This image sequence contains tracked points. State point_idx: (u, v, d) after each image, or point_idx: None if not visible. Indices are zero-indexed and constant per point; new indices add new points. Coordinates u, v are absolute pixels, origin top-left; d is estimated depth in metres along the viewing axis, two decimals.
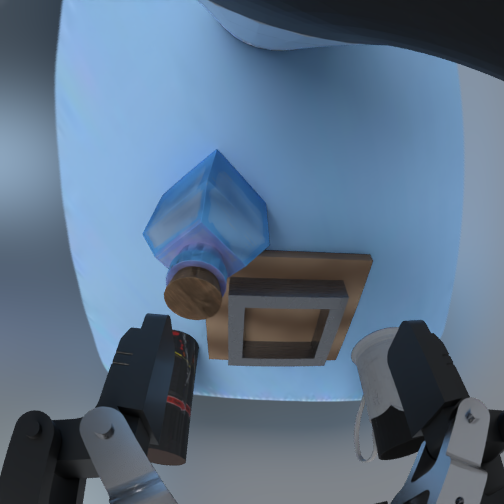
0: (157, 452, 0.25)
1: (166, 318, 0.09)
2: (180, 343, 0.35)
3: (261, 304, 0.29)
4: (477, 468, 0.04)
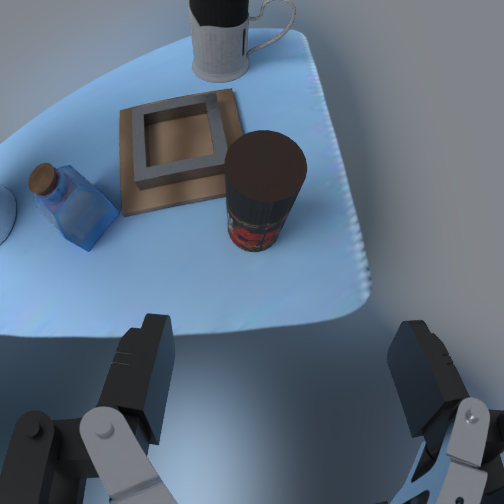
0: (240, 162, 0.22)
1: (166, 318, 0.09)
2: None
3: (141, 157, 0.34)
4: (477, 468, 0.04)
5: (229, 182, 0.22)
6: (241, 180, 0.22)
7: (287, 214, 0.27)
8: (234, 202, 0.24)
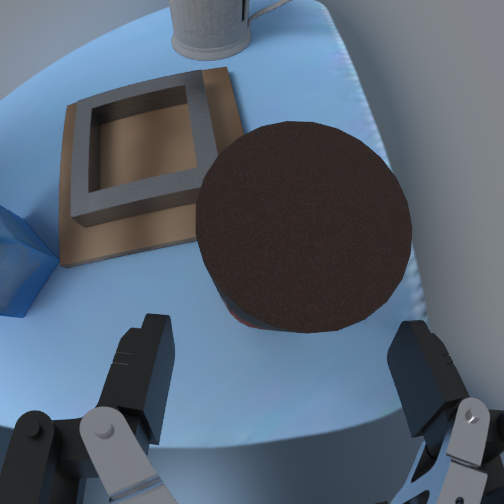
0: (240, 211, 0.08)
1: (166, 318, 0.09)
2: None
3: (83, 176, 0.20)
4: (477, 468, 0.04)
5: (210, 272, 0.08)
6: (243, 267, 0.08)
7: None
8: (227, 301, 0.10)
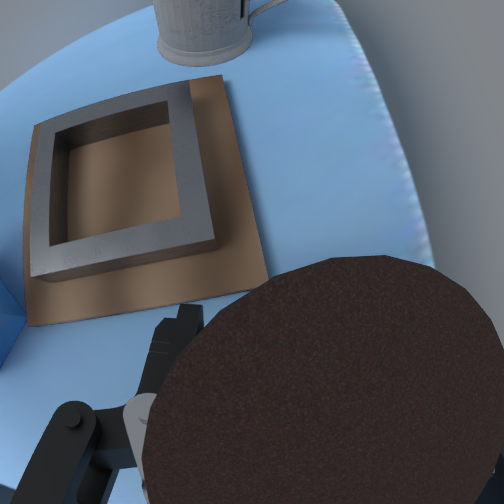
0: (229, 476, 0.03)
1: (200, 307, 0.10)
2: None
3: (43, 223, 0.16)
4: None
5: None
6: None
7: None
8: None
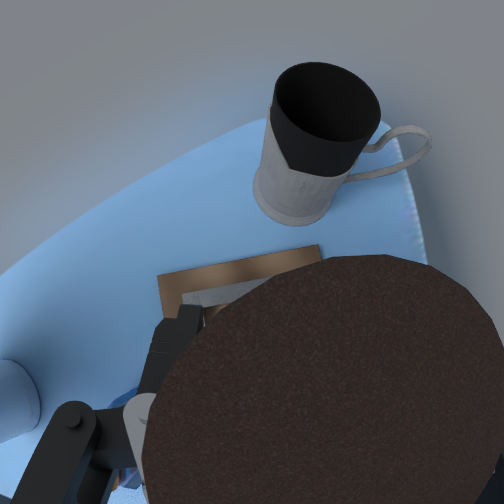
0: (229, 477, 0.03)
1: (200, 308, 0.10)
2: None
3: None
4: None
5: None
6: None
7: None
8: None
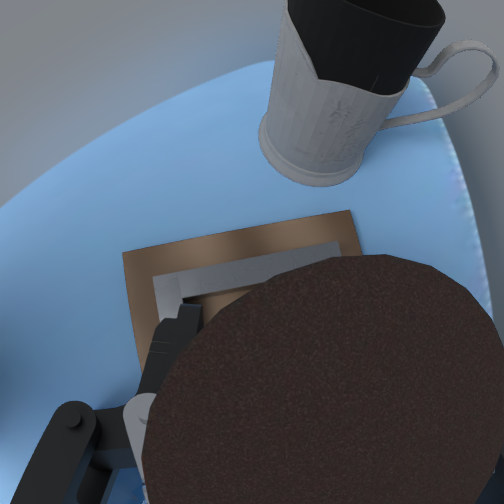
0: (230, 477, 0.03)
1: (200, 307, 0.10)
2: None
3: None
4: None
5: None
6: None
7: None
8: None
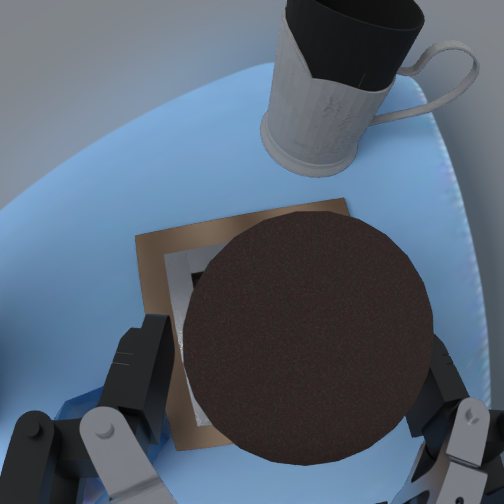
0: (236, 339, 0.07)
1: (166, 318, 0.09)
2: None
3: None
4: (477, 468, 0.04)
5: None
6: (239, 404, 0.06)
7: None
8: None
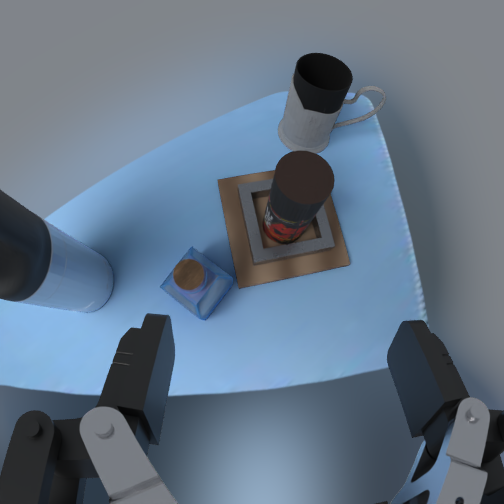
0: (286, 174, 0.30)
1: (166, 318, 0.09)
2: None
3: (257, 238, 0.41)
4: (477, 468, 0.04)
5: (279, 189, 0.30)
6: (287, 187, 0.30)
7: (316, 213, 0.35)
8: (279, 204, 0.32)
